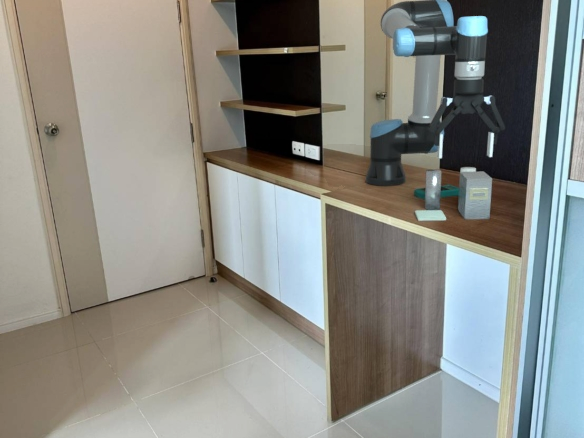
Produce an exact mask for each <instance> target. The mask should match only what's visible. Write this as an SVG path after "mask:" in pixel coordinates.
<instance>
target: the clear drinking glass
mask: <svg viewBox="0 0 584 438" xmlns="http://www.w3.org/2000/svg"><path fill="white" fill-rule="evenodd" d="M441 186H442V170H440V169H426V171H425V187H424V188H425V200H424V210H441V198H440V194H441Z"/></svg>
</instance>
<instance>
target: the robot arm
mask: <svg viewBox="0 0 584 438" xmlns="http://www.w3.org/2000/svg"><path fill="white" fill-rule="evenodd" d="M456 22H457V23H456V25H454V24H455V23H454V14H453V9H452V6H451V3H450V2H449V1H448V0H411V1H410V0H405V1H400V2H397V3H395V4H393V5H391V6H388V8H386V10H385V11H384V12H383V13H382V15H381V18H380V29H381V31H382V33H383V34H384V35H385V36H386V37H388V38H390V39H392V50H393V54H394V56H395V57H403V58H410V57H415V61H414V63H415V64H414V80H413V81H414V82H413V95H412V96H413V97H412V98H413V99H412V113H411V114H410V115H409V116H408V117H407V122H403V121H402V119H399V118H396V119H393V118H392V119H386V120H381V121H380V120H379V121H377V122H375V123H372V125H371V126H370V135H369V138H370V149H369V150H370V156H369V157H370V160H369V161H370V163H369V166H368V167H367V172H366V174H365V182H366V183H367V184H369V185H372V186H384V187H385V186H389V187H391V186H398V185H402V184H405V182H406V173H405V169H404V166H403V163H402V155H411V154H414V155H417V154H425V155H426V154H432V153H433V154H434V153H437V156H436V157H438V159H443V145H444V143H443V142H444V138H445V137H444V136H445V128H447V126H448V125H449V124H450V123H451V122H452V121H453V119H455V117H456V116H457V115H458V114H462V115H466V114H472V115H473V114H474V113H475V114H477V115H479V117H480V118H481V119H482V120H483V123H485V124H486V126H487V127H488V128H489V129H490V131H488V134H487V145H486V148H487V149H486V156H487V157H488V158H493V152H494V145H497V142H498V134H499V133H500V132H502V131H505V130H506V125H505V123H504V121H503V119H502V116H501V114H500V112H499V110H498V108H497V106H496V97H495V96H494V95H491V94H490V95H488V96H484V83H485V80H484V79H483V78H482V77H484V76H485V65H486V64H485V63H486V52H487V39H488V33H489V29H488V18H487V17H486V16H483V15H478V16H477V15H476V16H475V15H473V16H461V17H459V18H458V19H457V21H456ZM451 55H452V56H454V55H455V61H454V78H456V79H455V80H454V81H453V94H452V95H453V96H452V98H451V97H445V96H442V97H441V99H440V105H439V107H438V97H439V95H438V94H439V82H440V68H441V59H442V57H441V56H451ZM451 103H452V106H453V108H452V109H451V110H450V112H449V113H448V114H447V115H446V116H445V117H444V119H443V120H442V121H441V118H442V116H443V114H444V113H445V111H446V109H447V107H448V106H450V104H451ZM484 103H485V104H486V105H488V108H489V110H490V112H491V114H492V116H493V119H494V121H495V123H496V124H495V123H494V122H493V121H492V120H491V118H490V117H489V116H488V115H487V114H486V112H485V111H484V109H482V105H484ZM437 108H438V109H437ZM496 125H497V126H496Z"/></svg>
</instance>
